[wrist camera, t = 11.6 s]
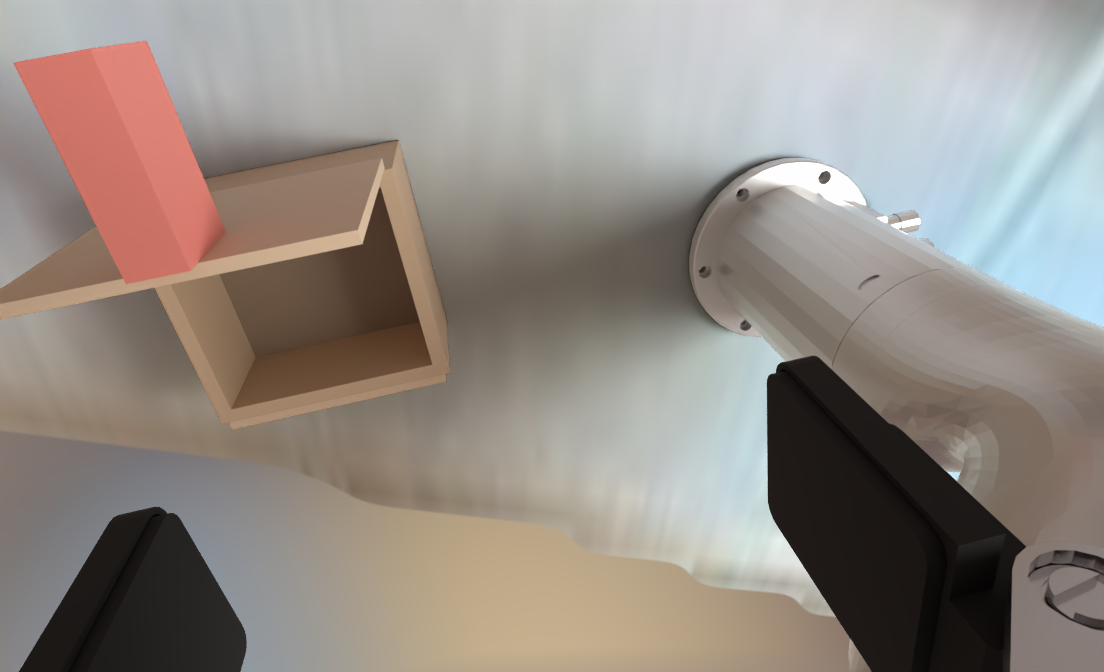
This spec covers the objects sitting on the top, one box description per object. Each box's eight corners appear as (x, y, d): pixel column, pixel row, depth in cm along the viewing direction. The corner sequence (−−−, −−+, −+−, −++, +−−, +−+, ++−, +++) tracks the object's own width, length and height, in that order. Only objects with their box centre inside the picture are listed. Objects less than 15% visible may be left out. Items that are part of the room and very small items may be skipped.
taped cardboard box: (384, 168, 32) (339, 8, 29) (360, 251, 21) (284, 12, 18) (123, 220, 31) (46, 63, 28) (-38, 334, 21) (-192, 100, 17)
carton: (398, 140, 39) (392, 168, 33) (449, 327, 45) (451, 381, 39) (172, 185, 38) (122, 222, 32) (254, 370, 44) (226, 432, 38)
